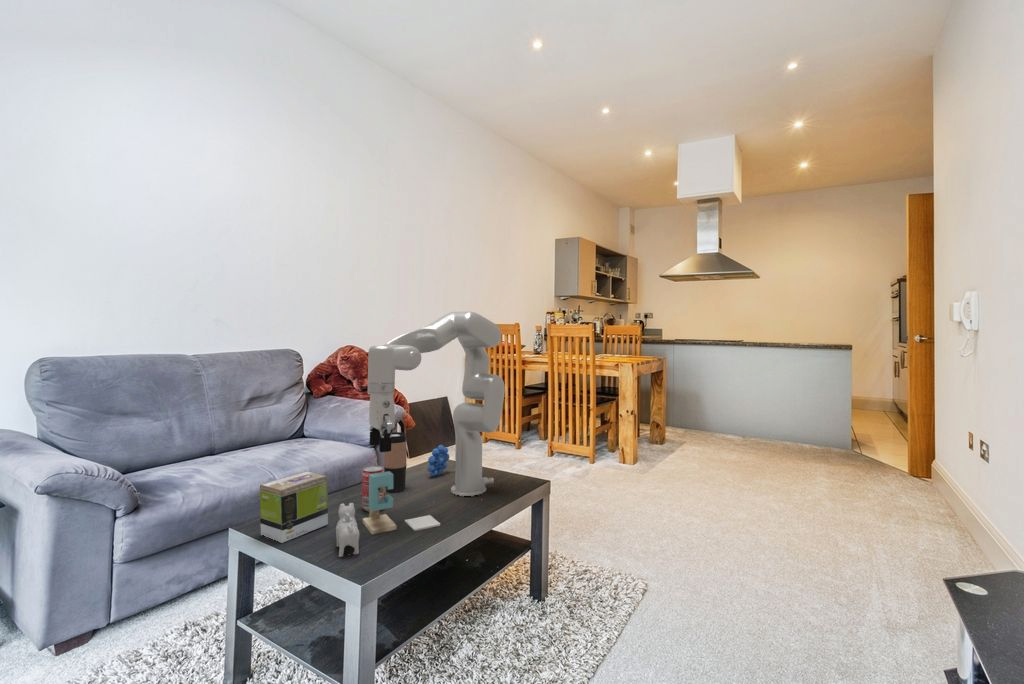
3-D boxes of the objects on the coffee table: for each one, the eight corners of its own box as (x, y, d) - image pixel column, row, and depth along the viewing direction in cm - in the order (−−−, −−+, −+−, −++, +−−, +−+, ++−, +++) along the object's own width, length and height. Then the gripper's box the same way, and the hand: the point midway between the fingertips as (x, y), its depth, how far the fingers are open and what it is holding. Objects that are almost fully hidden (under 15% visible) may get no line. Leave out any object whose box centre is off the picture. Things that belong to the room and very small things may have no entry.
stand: (385, 517, 148) (385, 477, 148) (396, 529, 139) (396, 486, 139) (362, 521, 144) (362, 480, 144) (372, 534, 135) (372, 490, 135)
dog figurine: (354, 536, 134) (354, 498, 134) (361, 555, 123) (361, 513, 123) (333, 539, 132) (333, 500, 132) (339, 559, 120) (339, 516, 120)
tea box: (306, 518, 147) (306, 470, 146) (328, 525, 142) (328, 475, 141) (258, 536, 134) (259, 482, 133) (281, 544, 129) (281, 489, 128)
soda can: (378, 513, 151) (378, 472, 151) (357, 511, 153) (357, 470, 152) (388, 505, 158) (389, 466, 158) (368, 503, 160) (368, 464, 159)
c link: (389, 503, 143) (389, 471, 143) (393, 507, 140) (393, 474, 140) (368, 507, 140) (369, 474, 140) (372, 511, 137) (372, 477, 137)
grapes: (440, 470, 199) (440, 441, 199) (453, 473, 195) (453, 443, 195) (420, 477, 190) (420, 446, 190) (432, 480, 186) (433, 449, 186)
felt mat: (429, 516, 149) (429, 515, 149) (440, 525, 142) (440, 523, 142) (404, 521, 145) (404, 520, 145) (414, 531, 138) (414, 529, 138)
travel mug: (380, 489, 175) (380, 433, 174) (399, 484, 180) (399, 431, 179) (390, 494, 169) (390, 437, 169) (409, 489, 174) (410, 434, 174)
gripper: (404, 391, 134) (402, 453, 134) (385, 385, 149) (383, 441, 149) (377, 392, 130) (375, 456, 130) (360, 386, 145) (359, 443, 145)
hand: (380, 448), depth 139 cm, fingers open, 9 cm apart
